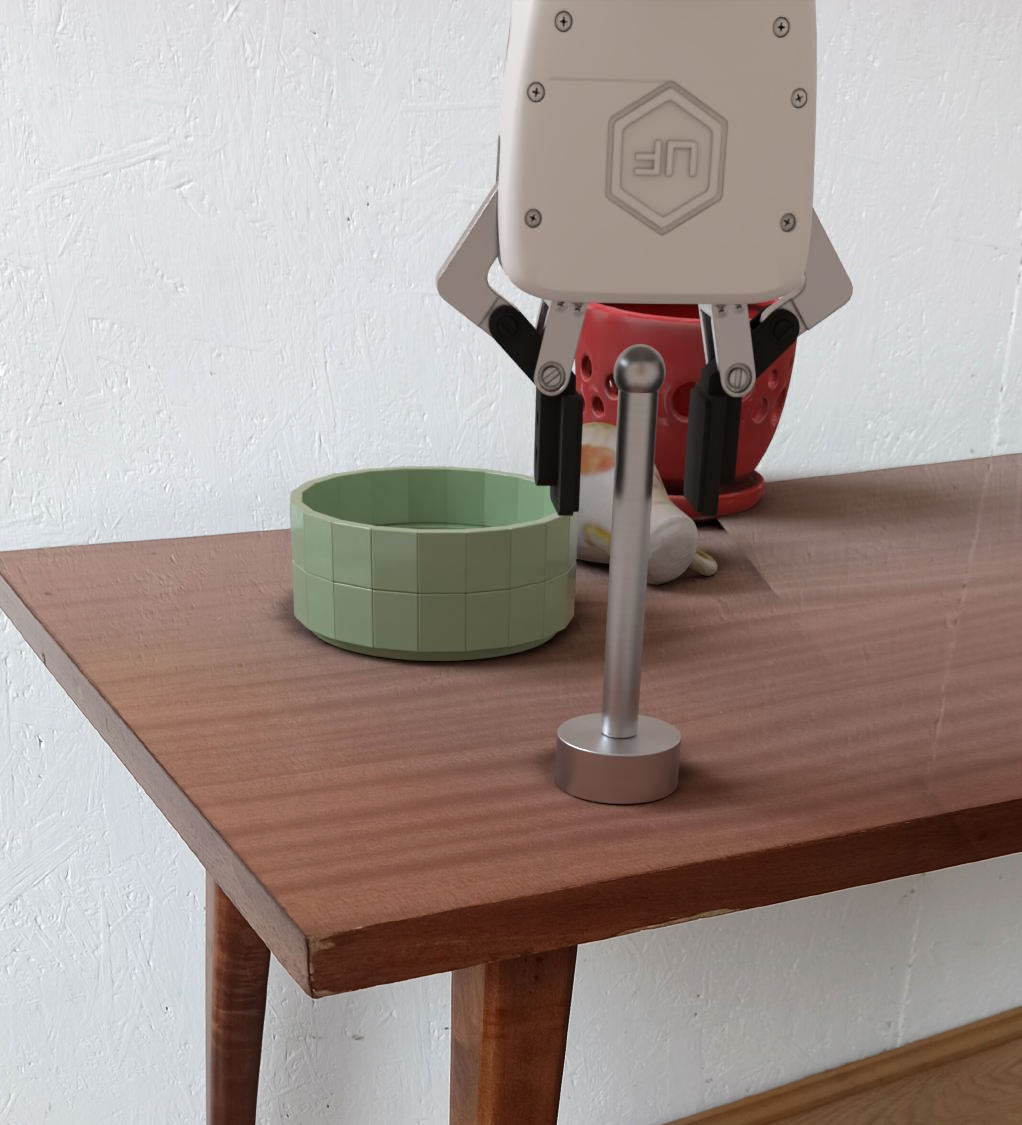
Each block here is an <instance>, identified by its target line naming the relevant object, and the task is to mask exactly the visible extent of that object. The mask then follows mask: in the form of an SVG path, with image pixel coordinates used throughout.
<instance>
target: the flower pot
mask: <svg viewBox="0 0 1022 1125" xmlns="http://www.w3.org/2000/svg"><path fill="white" fill-rule="evenodd" d="M779 299H780V298H778V299H775V300H772V301H768V302H762V303H754V304H747V306H748V314H749V321H750V320H751V319H752V318H753V317H754V316H755V315H756V314H757V313H758V312H759V311H760V310H761V309H763V308H764V307H765V306H767V305H770V304H773V303H775V302H776V301H777V300H779ZM797 343H798V338H797V339H796V340H795V342H794V343H793V344H792V345H791V346H790V347H789V348H788V349H787V350H786V351H785V352H784V353H783V354H782V355H781V356H780V357H779V358H778V359H777V360H776V361H775V362H774V363H773V364H772V365H771V366H769V367H768V368H767V369H766V370H765V371H764V372H763V373H762V374H761V375H760V376H759V377H758V378H757V379H756V381H755V384H754V387H753V388H752V390H751V391H750V392H749V393H748V394H746V395H744V396H742V404H741V416H740V428H739V439H738V451H737V463H736V474H735V480H734V484H733V486H732V487H720V490H719V502H718V511H717V515H716V516H701V515H700V513H699V512H696V511H695V510H694V509H693V507H692V506H691V505H690V504H689V502H688V501H687V500H686V498H685V497H684V492H683V488H684V473H685V459H686V445H687V431H688V417H689V403H690V392H691V388H695V387H696V382H700V378H701V369H702V368H703V367H704V366H705V365H706V359H705V352H704V344H703V337H702V329H701V322H700V314H699V307H698V304H642V303H588V307H587V311H586V315H585V319H584V323H583V327H582V331H581V335H580V339H579V343H578V347H577V351H576V355H575V359H574V374H575V375H576V390H577V392H578V393H579V395H580V396H581V398H582V399H583V424H586V423H592V422H601V423H607V424H611V425H614V426H617V409H618V390H619V389H618V388H617V386H616V383H615V380H614V366H615V363H616V360H617V358H618V357H619V355H620V354H621V353H622V352H623V351H624V350H625V349H627V348H628V347H630V346H633V345H637V344H644V345H648V346H651V347H652V348H654V349H655V350H657V351H658V352H659V354H660V355H661V357H662V358H663V361H664V364H665V369H666V373H665V379H664V382H663V385H662V387H661V388H660V390H659V393H658V409H657V425H656V441H655V457H654V464H655V466H656V468H657V470H658V472H659V475H660V477H661V480H662V483H663V485H664V487H665V490H666V492H667V494H668V497H669V498H670V500H671V501H672V502H673V504H674V505H675V506H677V507H678V508H679V509H680V510H681V511H683V512H684V513H685V514H686V515H687V516H689V517H690V518H691V519H692V520H693V522H694V523H703V522H711V521H718V518H717V517H719V516H720V517H721V516H728V515H733V514H738V513H740V512H744V511H747V510H749V509H751V508H752V507H753V506H754V505H755V504H756V503H758V501H759V500H760V499H761V497H762V496H763V494H764V492H765V488H766V481H765V478H764V476H763V475H762V474H761V473H760V472H758V471H757V470H756V469H757V467H758V466H759V464H760V463H761V461H762V460H763V458H764V456H765V454H766V453H767V451H768V449H769V447H770V445H771V442H772V441H773V439H774V437H775V434H776V431H777V429H778V426H779V423H780V420H781V417H782V415H783V411H784V408H785V404H786V400H787V398H788V393H789V388H790V384H791V381H792V374H793V369H794V365H795V358H796V353H797V352H796V350H797Z"/></svg>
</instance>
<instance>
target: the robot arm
mask: <svg viewBox="0 0 1022 1125" xmlns="http://www.w3.org/2000/svg"><path fill="white" fill-rule="evenodd" d="M816 2H817V1H816V0H511V7H510V8H511V9H510V18H509V19H510V21H509V28H508V39H507V45H506V52H505V59H504V65H503V72H502V73H503V74H502V83H501V84H502V85H501V95H500V96H501V98H500V108H499V121H498V122H499V124H498V134H497V135H498V136H497V137H498V138H497V152H496V153H497V154H496V170H495V171H496V172H495V183H494V185H493V186H492V188H491V190H490V191H489V192H488V194H487V196H486V197H485V199H484V200H483V202H482V204H481V205H480V206H479V208H478V210H477V211H476V213H475V214H474V215H473V217H472V219H471V220H470V222H469V223H468V224H467V227H466V228H465V230H464V231H463V233H462V234H461V236H460V237H459V239H458V240H457V242H456V243H455V245H454V247H453V248H452V249H451V251H450V252H449V254H448V256H447V257H446V259H445V260H444V262H443V263H442V266H440V268H439V269H438V271H437V273H436V276H435V281H434V282H435V283H434V284H435V287H436V290H437V292H438V295H439V296H440V298H441V299H442V300H443V301H445V303H447V304H449V305H450V306H451V307H452V308H454V309H455V310H456V311H457V312H458V313H460V314H461V315H462V316H464V317H465V318H466V319H468V320H469V321H470V322H471V323H473V324H474V325H475V326H477V327H478V328H479V329H481V330H482V331H483V332H484V333H486V334H487V335H488V336H490V337H491V338H492V339H494V341H495V342H496V343H497V345H498V346H499V347H500V348H501V349H502V350H503V351H504V352H505V353H506V354H507V356H508V357H509V358H510V359H511V360H512V361H513V362H514V363H515V364H516V366H517V367H518V368H519V369H520V370H521V371H522V372H523V373H524V374H525V376H526V377H527V378H528V379H529V380H530V381H531V383H533V385H534V386H535V407H534V408H535V412H534V444H533V445H534V447H533V476H534V480H535V484H536V486H550V499H551V501H552V503H553V506H554V508H555V510H556V512H557V514H558V516H573V513H574V512H578V511H579V500H580V476H581V452H582V428H583V399H582V398H581V396H580V395H579V393H578V392H577V390H576V375H575V371H573V366H574V364H575V355H576V351H577V347H578V343H579V339H580V335H581V331H582V327H583V323H584V319H585V315H586V311H587V307H588V303H642V304H698V307H699V314H700V322H701V329H702V337H703V344H704V352H705V359H706V365H705V366H704V367H703V368H702V369H701V378H700V382H696V387H695V388H691V392H690V403H689V417H688V431H687V445H686V459H685V473H684V488H683V492H684V497H685V498H686V500H687V501H688V502H689V504H690V505H691V506H692V507H693V509H694V510H695V511H696V512H699V513H700V515H701V516H715V517H717V516H716V515H717V511H718V502H719V490H720V487H732V486H733V484H734V480H735V474H736V463H737V451H738V439H739V428H740V416H741V404H742V396H744V395H746V394H748V393H749V392H750V391H751V390H752V388H753V387H754V384H755V381H756V379H757V378H758V377H759V376H760V375H761V374H762V373H763V372H764V371H765V370H766V369H767V368H768V367H769V366H771V365H772V364H773V363H774V362H775V361H776V360H777V359H778V358H779V357H780V356H781V355H782V354H783V353H784V352H785V351H786V350H787V349H788V348H789V347H790V346H791V345H792V344H793V343H794V342H795V340H796V339H797V340H798V338H799V337H800V336H802V335H803V334H804V333H805V332H807V331H808V332H809V331H810V330H812V329H813V328H814V327H816V326H817V325H819V324H820V323H821V322H823V321H825V319H827V318H828V317H830V316H831V315H833V314H834V313H835V312H836V311H838V310H840V309H841V308H842V307H845V305H846V304H847V303H848V302H849V301H850V300H851V298H852V297H853V291H854V286H853V282H852V280H851V278H850V277H849V274H848V273H847V271H846V268H845V267H844V265H843V264H842V261H841V259H840V257H839V255H838V254H837V251H836V249H835V248H834V245H833V244H832V242H831V240H830V238H829V236H828V234H827V232H826V230H825V228H824V226H823V224H822V222H821V220H820V218H819V216H818V214H817V212H816V211H815V208H814V207H813V206H814V205H813V204H814V190H815V187H814V186H815V160H816V133H817V132H816V131H817V98H818V97H817V95H818V93H817V92H818V31H817V29H818V28H817V5H816ZM496 260H498V263H499V265H500V267H501V269H502V270H503V272H504V275H505V276H507V277H508V279H509V280H510V282H511V283H512V284H513V285H514V286H515V287H516V288H517V289H519V290H521V292H523V293H526V294H528V295H530V296H532V297H535V298H537V299H541V300H540V303H539V307H538V311H537V316H536V320H535V324H534V325H533V324H532V323H531V322H530V320H529V319H527V317H526V316H525V314H523V312H522V311H521V310H520V309H519V308H518V307H517V306H516V305H515V304H514V303H513V302H511V301H510V300H508V299H507V298H506V297H504V296H503V295H502V294H501V293H499V291H497V290H496V289H495V288H493V287H492V286H491V285H490V284H489V281H488V279H489V278H488V277H489V275H488V274H489V271H490V269H491V267H492V266H493V264H494V263H495V261H496ZM775 299H779V300H777V301H776V302H775V303H773V304H770V305H767V306H765V307H764V308H763V309H761V310H760V311H759V312H758V313H757V314H756V315H755V316H754V317H753V318H752V319H751V320H750V321H749V314H748V306H747V304H754V303H762V302H768V301H772V300H775Z"/></svg>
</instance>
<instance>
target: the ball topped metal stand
mask: <svg viewBox="0 0 1022 1125" xmlns="http://www.w3.org/2000/svg"><path fill="white" fill-rule="evenodd" d="M665 373H666V369H665V364H664V361H663V358H662V357H661V355H660V354H659V352H658V351H657V350H655V349H654V348H652V347H651V346H648V345H644V344H637V345H633V346H630V347H628V348H627V349H625V350H624V351H623V352H622V353H621V354H620V355H619V357H618V358H617V360H616V363H615V366H614V380H615V383H616V386H617V388H618V389H619V390H618V409H617V429H616V449H615V468H614V488H613V507H612V527H611V547H610V564H609V566H608V567H609V568H608V586H607V587H608V588H607V605H606V606H607V608H606V629H605V646H604V665H603V683H602V684H603V686H602V705H601V712H597V713H596V712H595V713H588V714H582V715H579V716H574V717H572V718H570V719H567V720H565V721H564V722H562V723H561V724H560V725H559V726H558V728H557V731H556V749H555V750H556V751H555V770H554V771H555V772H554V773H555V775H554V776H555V777H554V778H555V779H554V780H555V783H556V785H557V786H558V788H560V789H561V790H562V791H563V792H565V793H567V794H568V795H571V796H573V797H576V798H578V799H582V800H585V801H589V802H593V803H594V802H595V803H600V804H608V805H609V804H610V805H636V804H645V803H650V802H655V801H658V800H661V799H663V798H666V797H668V796H670V795H671V794H672V793H674V792H675V791H676V790H677V787H678V784H679V774H680V772H679V771H680V758H681V748H682V746H681V745H682V735H681V732H680V731H679V729H678V728H677V727H676V726H674V725H673V724H671V723H669V722H667V721H664V720H662V719H659V718H657V717H654V716H653V717H652V716H648V715H644V714H639V712H640V697H641V695H640V694H641V681H642V680H641V679H642V664H643V647H644V633H645V632H644V631H645V616H646V602H647V601H646V600H647V586H648V585H647V584H648V583H647V570H648V554H649V537H650V521H651V505H652V489H653V473H654V457H655V441H656V425H657V409H658V393H659V390H660V388H661V387H662V385H663V382H664V379H665Z"/></svg>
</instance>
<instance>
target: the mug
mask: <svg viewBox="0 0 1022 1125" xmlns="http://www.w3.org/2000/svg"><path fill="white" fill-rule="evenodd" d="M616 429H617V426H614V425H611V424H607V423H601V422H592V423H586V424H583V428H582V452H581V476H580V500H579V511H578V534H577V558H576V560H581V561H584V562H585V561H586V562H590V563H599V564H606V565H610V547H611V527H612V507H613V488H614V468H615V449H616ZM532 477H534V475H533V476H532ZM698 545H699V532H698V529H697V525H696V522H693V520H692V519H691V518H690V517H689V516H687V515H686V514H685V513H684V512H683V511H681V510H680V509H679V508H678V507H677V506H675V505H674V504H673V502H672V501H671V500H670V498H669V497H668V494H667V492H666V490H665V487H664V485H663V483H662V480H661V477H660V475H659V472H658V470H657V468H656V466H655V464H654V473H653V489H652V505H651V521H650V537H649V554H648V570H647V584H649V585H663V584H666V583H668V582H669V583H670V582H671V581H673V580H675V579H677V578H679V577H680V576H681V575H683V574H684V573H685V571H686V570H687V569H688V568H689V570H693V571H695V572H697V573H698V574H699V575H701V576H709V577H710V576H713V575H715V574H716V572H717V570H718V563H717V562H716V560H715V558H714V557H712V556H711V555H709V554H708V553H707V552H705V551H703V550H701V549H700V548H698Z"/></svg>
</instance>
